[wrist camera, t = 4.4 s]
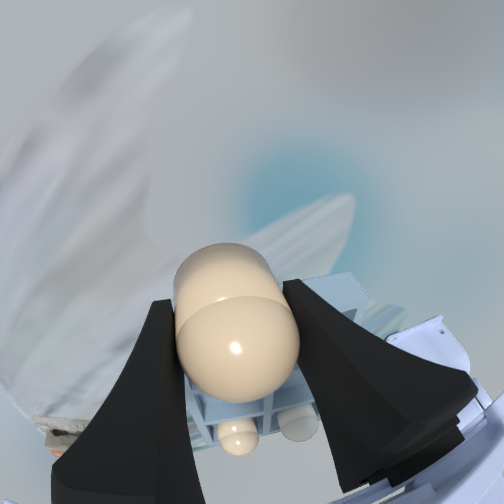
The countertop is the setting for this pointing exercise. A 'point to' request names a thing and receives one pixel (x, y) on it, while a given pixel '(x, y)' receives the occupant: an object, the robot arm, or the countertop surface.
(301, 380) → the egg carton
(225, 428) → the seated egg
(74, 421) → the packaged product
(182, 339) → the loose egg
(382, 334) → the countertop surface
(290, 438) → the seated egg
